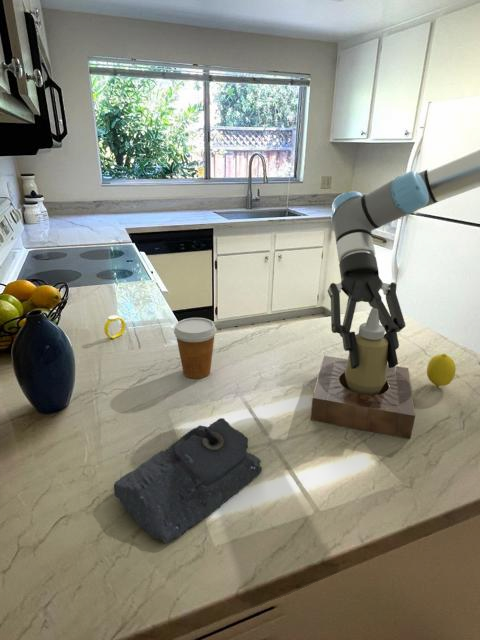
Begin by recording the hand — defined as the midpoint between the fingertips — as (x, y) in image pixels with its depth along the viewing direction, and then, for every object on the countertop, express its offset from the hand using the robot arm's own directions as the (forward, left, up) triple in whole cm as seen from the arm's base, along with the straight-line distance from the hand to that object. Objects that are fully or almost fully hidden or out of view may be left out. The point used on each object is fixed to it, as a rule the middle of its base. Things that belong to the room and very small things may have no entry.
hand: (374, 366), depth 75 cm
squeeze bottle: (+1, -3, -8) cm, 9 cm away
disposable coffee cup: (+38, -4, -11) cm, 40 cm away
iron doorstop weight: (+26, +27, -11) cm, 39 cm away
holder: (+1, -3, -11) cm, 11 cm away
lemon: (-15, -15, -11) cm, 24 cm away
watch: (+67, -15, -11) cm, 70 cm away
